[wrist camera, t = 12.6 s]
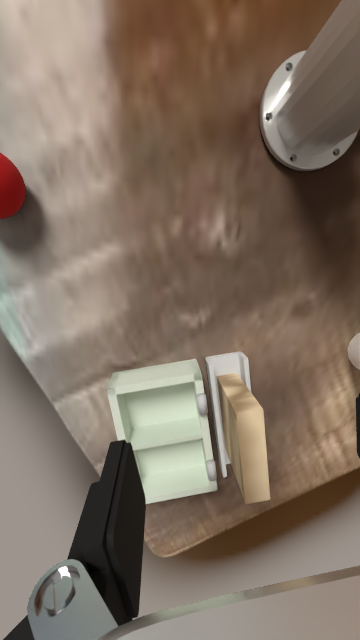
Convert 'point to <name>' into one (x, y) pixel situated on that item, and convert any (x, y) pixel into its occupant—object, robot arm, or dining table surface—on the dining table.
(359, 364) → the foam cup
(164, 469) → the cabinet
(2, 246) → the dining table surface
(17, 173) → the christmas ornament
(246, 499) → the beige flat block
